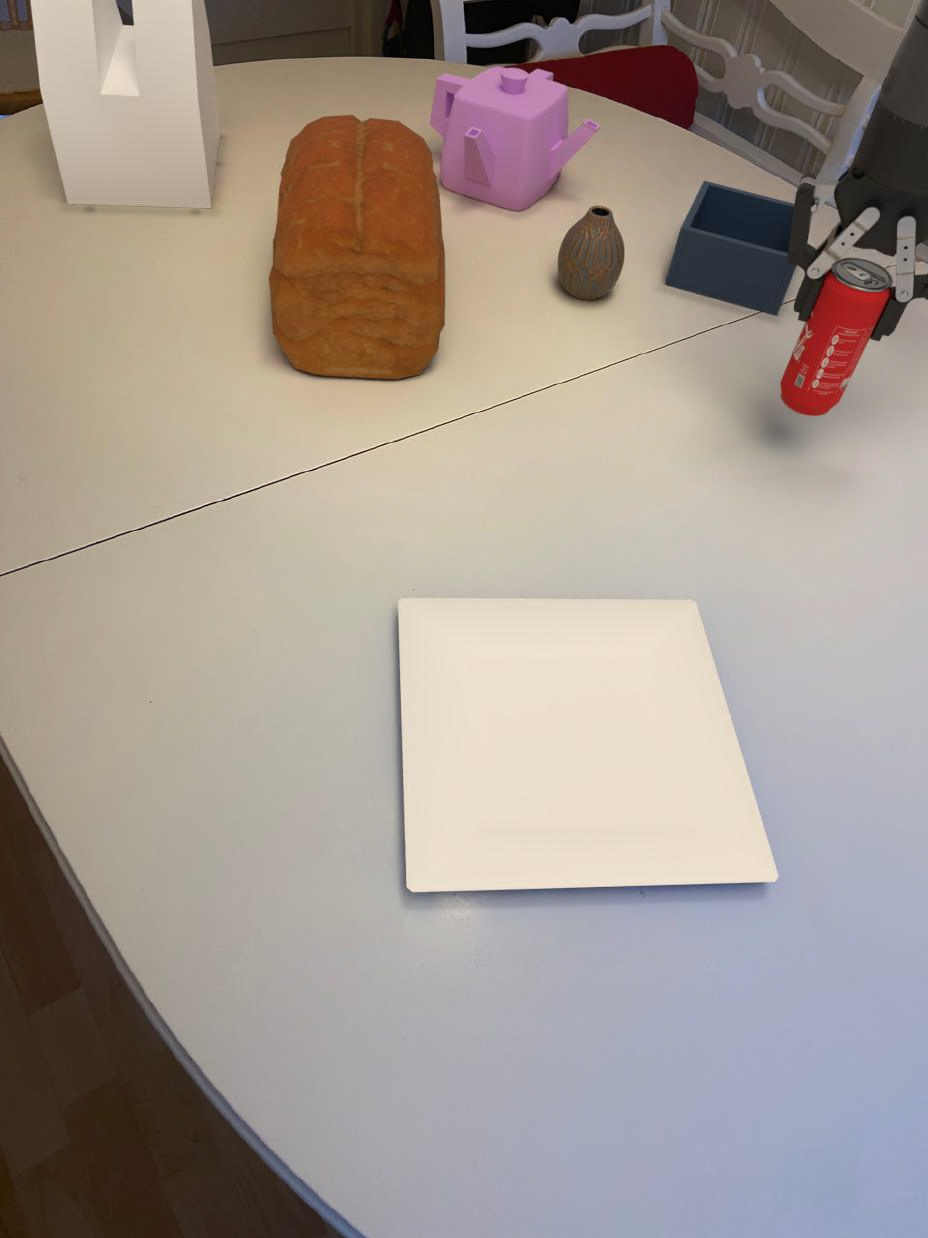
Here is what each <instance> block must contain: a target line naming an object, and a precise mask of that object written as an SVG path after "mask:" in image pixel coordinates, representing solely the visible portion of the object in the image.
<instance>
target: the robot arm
mask: <svg viewBox="0 0 928 1238" xmlns="http://www.w3.org/2000/svg"><path fill="white" fill-rule="evenodd" d="M876 99H877V100H876V102H875V104H874V107H873V110H872V112H871V114H870V117H869V119H868V122H867V124H866V127H865V130H864V132H863V134H862V137H861V140H860V141H859V144H858V147H857V150H856V152H855V155H854V157H853V159H852V162H851V164H850V166H849V167H848V169H846V171H844V173H842V174H841V175H840V176H839V177H838V179H818V178H817V176H816V175H815V174H813V173H805V174H803V175H802V176H801V178H800V180H799V183H798V186H797V188H796V193H795V197H794V203H793V204H794V211H793V218H792V225H791V233H790V240H789V247H788V254H787V261H788V263H789V264H790V265H793V266H796V265H797V266H796V267H799V268H800V269H802V271H803V273H804V276H803V278H802V281H801V283H800V285H799V288H798V291H797V293H796V296H795V299H794V303H793V312H795V313H798V315H797V316H798V317H797V321H800V322H804V323H805V322H806V321H807V319H808V317H809V314H810V312H811V309H812V307H813V305H814V302H815V300H816V297H817V295H818V292H819V290H820V288H821V285H822V283H823V279H824V275H825V273H826V272H827V271H828V270H829V269H830V268H831V266H832V264H833V263H834V262H835V261H837V260H839V259H842V258H843V256H844V255H845V254H846V253H847V252H849V250H850V249H851V248H857V249H861V250H875V251H877V252H878V253H880V254H882V255H884V256H888V257H893V258H895V257H896V259H895V286H894V285H892V286H891V295H890V297H889V299H888V302H887V304H886V306H885V308H884V310H883V312H882V314H881V316H880V318H879V320H878V322H877V324H876V327H875V329H874V331H873V333H872V335H871V337H870V339H869V340H872V341H874V342H875V341H876V342H880V341H881V340H882V338H883V336H885V337H890V336H891V335H892V334H893V333H894V332H895V330H896V328H897V326H898V325H899V322H900V320H901V318H902V317H903V314H904V312H905V310H906V308H907V306H908V304H909V303H911V301H914V300H916V299H925V300H926V301H928V272H927V273H923V274H916V263H917V249H918V248H917V246H919V245H920V244H921V243H923V242H925V241H926V240H928V0H920V2H919V5H918V7H917V10H916V12H915V14H914V16H913V18H912V22H911V23H910V24H909V26H908V29H907V31H906V32H905V34H904V36H903V38H902V39H901V41H900V44H899V46H898V48H897V50H896V52H895V54H894V56H893V59H892V61H891V63H890V66H889V68H888V71H887V74H886V76H885V78H884V79H883V82H882V84H881V88H880V91H879V95H878V98H876ZM829 199H833V200H834V203H835V206H836V209H837V213H838V216H839V222H838V223H836V225H835V226H834V227H833V228H832V229H831V231H830V233H829V234H828V236H827V237H826V238H825V239H824V240H823V241H822V242H821V243H820V244H819V246H818V247H817V248H815V247H814V246H812V245H811V244H810V243H809V237H810V230H811V223H812V217H813V214H815V213H818V212H820V211H822V210H823V208H824V205H825V203H826V201H828V200H829Z"/></svg>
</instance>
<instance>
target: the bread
mask: <svg viewBox="0 0 928 1238" xmlns="http://www.w3.org/2000/svg"><path fill="white" fill-rule="evenodd" d="M289 141H290V142H289V145H288V148H287V151H286V152H285V153H286V154H285V160H284V163H283V165H282V167H281V168H282V169H281V171H280V176H281V179H280V183H279V187H278V198H277V199H278V200H277V211H276V214H277V215H276V224H275V231H274V237H273V240H272V266H271V269H270V271H269V276H268V286H269V294H270V295H269V296H270V311H271V325H272V326H271V328H272V334H273V336H274V338H275V339H276V341H277V342H278V344H279V345H280V347H281V349H282V350H283V352H284V353H285V355H286V357H287V358H288V360H289V361H290V362H291V364H292V366H293V368H294V369H295V370H298V371H299V370H300V371H303V372H306V373H310V374H313V375H319V376H323V377H339V378H358V379H378V380H379V379H381V380H383V379H384V380H399V379H403V378H408V377H413V376H417V375H420V374H421V373H422V372H423V370H424V369H425V368H426V367H427V365H428V364H429V363H430V361H431V360H432V359H433V358H434V356H435V355H436V354H437V352H438V351H439V347H440V338H441V333H442V330H443V329H444V327H445V325H446V323H445V322H446V253H445V252H446V251H445V244H444V239H443V221H442V210H441V197H440V195H441V194H440V189H439V184H438V182H437V181H438V180H437V178H438V177H437V175H436V174H435V171H434V160H433V152H432V150H431V149H430V146H429V145H428V143H427V142H426V140H425V139H424V137H422V135H420V134H418V133H417V132H415V131H414V130H412V129H411V128H409V126H407V125H405V124H404V123H403V122H401V121H399V120H393V119H386V118H385V119H384V118H374V117H370V118H368V119H365V120H361V119H359V118H358V117H356V116H354V115H353V114H346V115H345V114H342V115H325V116H322V117H320V118H317V119H315V120H313V121H311V122H309V123H307V124H306V125H305V126H304V127H303V129H301V130H300V132H299V133H298V134H296V135H295V136H294V137H293V138H291V139H290V140H289Z"/></svg>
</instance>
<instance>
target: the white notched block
mask: <svg viewBox="0 0 928 1238" xmlns="http://www.w3.org/2000/svg"><path fill="white" fill-rule="evenodd" d="M131 5H132V6H131V7H132V18H133V19H132V20H133V25H129V24H123V20H122V18H121V17H122V16H121V14H120V10H119V8H118V7H119V6H118V4H117V1H116V0H30V9H31V16H32V17H31V19H32V27H33V35H34V45H35V54H36V62H37V71H38V78H39V79H38V80H39V81H38V82H39V89H40V95H41V99H42V103H43V108H44V111H45V115H46V118H47V119H46V120H47V124H48V129H49V132H50V136H51V140H52V144H53V145H52V146H53V148H54V153H55V157H56V161H57V165H58V169H59V173H60V177H61V182H62V185H63V189H64V190H63V191H64V195H65V199H66V202H67V205H89V206H90V205H94V206H117V207H118V206H119V207H120V206H121V207H122V206H124V207H126V206H127V207H150V208H151V207H152V208H154V207H155V208H181V209H182V208H184V209H212V205H213V198H214V197H213V196H214V189H215V180H216V173H217V164H218V155H219V148H220V139H221V128H220V116H219V109H218V99H217V89H216V81H215V71H214V62H213V54H212V44H211V43H212V42H211V35H210V33H211V32H210V28H209V22H208V21H209V20H208V17H207V11H206V5H205V0H131Z"/></svg>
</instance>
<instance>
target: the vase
mask: <svg viewBox="0 0 928 1238" xmlns="http://www.w3.org/2000/svg"><path fill="white" fill-rule="evenodd" d="M625 254H626V253H625V243H624V239H623V236H622V233H621V232H620V230H619V228H618V226H617V223H616V222H615V219H614V214H613V211H612V210H611V209H610V208H608V207H606V206H603V205H593V206H591V207H589V209H587V211H586V213H585V214H584V216H582V217H581V218H580V219H578V220H577V222H575V223H574V224H573V225H572V226H571V227H570V228H569V229H568V231H567V232H566V233H565V235H564V236H563V239H562V241H561V243H560V246H559V250H558V254H557V262H556V263H557V264H556V265H557V274H558V278H559V281H560V283H561V285H562V286H563V288H564V289H565V291H566V292H567V293H568V294H570V296H573V297H574V298H577V299H579V300H584V301H585V300H586V301H591V300H597V299H600V298H601V297H603V296H604V295H606V294H608V293H609V292H610V291H612V290H613V288H614V287H615V285H616V284H617V282H618V280H619V278H620V277H621V274H622V271H623V268H624V264H625V263H624V262H625Z"/></svg>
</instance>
